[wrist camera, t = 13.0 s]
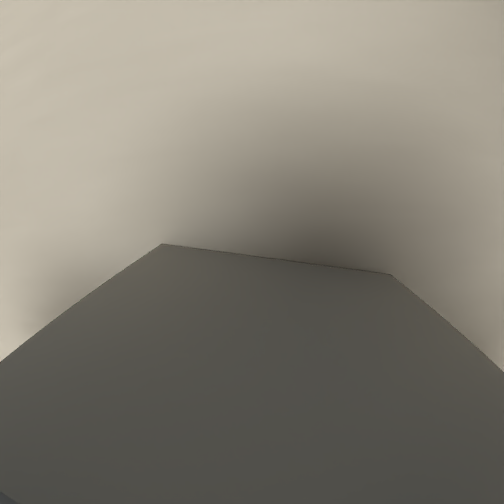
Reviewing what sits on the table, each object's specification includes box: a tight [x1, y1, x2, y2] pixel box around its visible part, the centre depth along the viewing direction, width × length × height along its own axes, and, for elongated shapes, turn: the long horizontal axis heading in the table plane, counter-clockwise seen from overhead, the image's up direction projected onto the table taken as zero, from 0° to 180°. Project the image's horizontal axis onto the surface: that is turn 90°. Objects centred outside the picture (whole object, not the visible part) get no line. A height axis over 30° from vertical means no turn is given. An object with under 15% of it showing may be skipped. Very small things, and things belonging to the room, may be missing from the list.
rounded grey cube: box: [0, 244, 504, 504], centre depth 6 cm, size 8×8×9 cm
